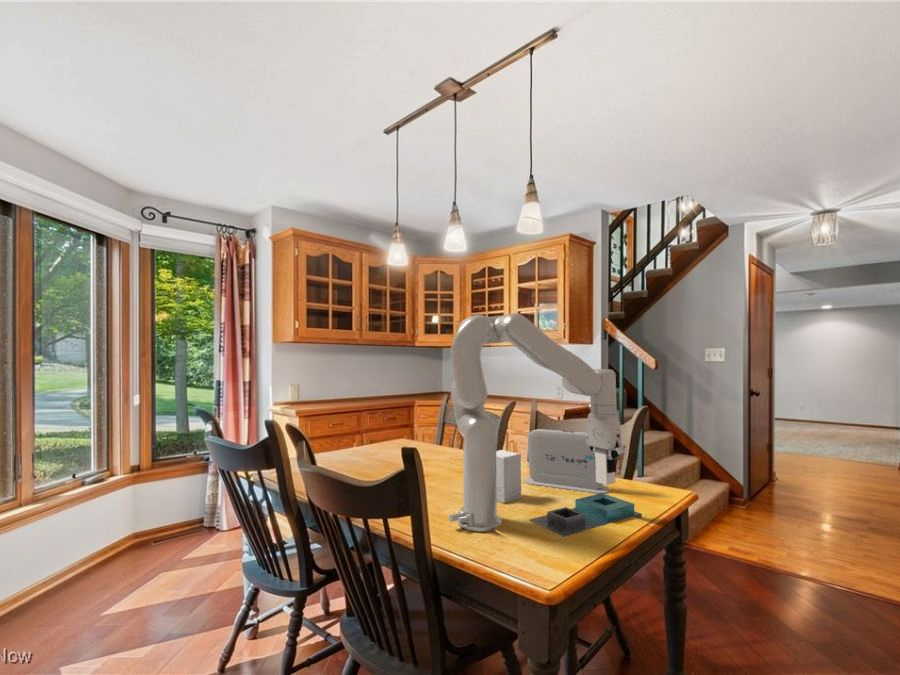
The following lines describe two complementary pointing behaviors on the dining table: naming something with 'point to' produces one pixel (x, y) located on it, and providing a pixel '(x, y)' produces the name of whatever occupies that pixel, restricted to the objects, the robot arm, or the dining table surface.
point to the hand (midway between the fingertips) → (605, 469)
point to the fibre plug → (603, 467)
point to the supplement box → (508, 476)
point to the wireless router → (562, 461)
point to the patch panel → (587, 514)
